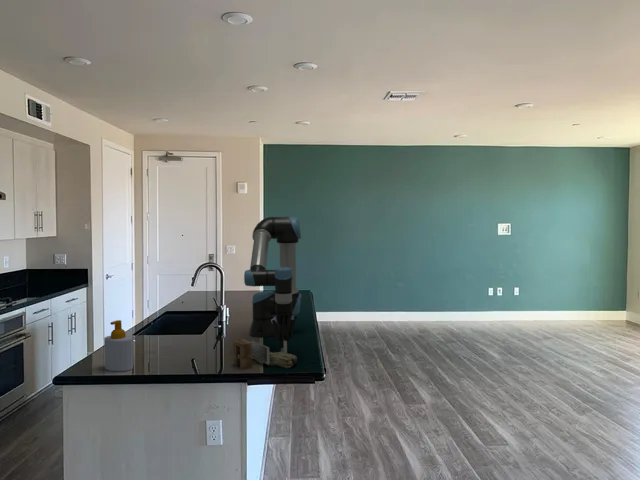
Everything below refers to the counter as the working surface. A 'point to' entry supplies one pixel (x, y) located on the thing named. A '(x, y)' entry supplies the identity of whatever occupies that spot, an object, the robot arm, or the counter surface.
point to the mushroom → (282, 359)
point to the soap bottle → (118, 349)
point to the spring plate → (259, 352)
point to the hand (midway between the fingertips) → (283, 354)
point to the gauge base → (243, 353)
